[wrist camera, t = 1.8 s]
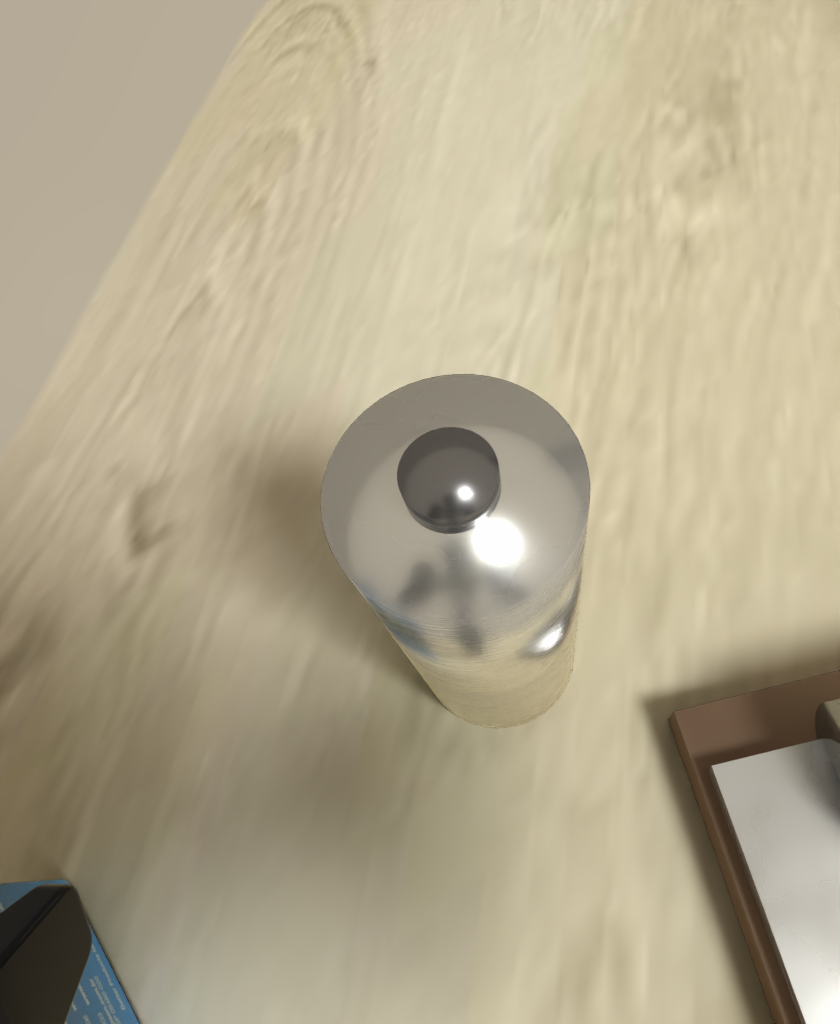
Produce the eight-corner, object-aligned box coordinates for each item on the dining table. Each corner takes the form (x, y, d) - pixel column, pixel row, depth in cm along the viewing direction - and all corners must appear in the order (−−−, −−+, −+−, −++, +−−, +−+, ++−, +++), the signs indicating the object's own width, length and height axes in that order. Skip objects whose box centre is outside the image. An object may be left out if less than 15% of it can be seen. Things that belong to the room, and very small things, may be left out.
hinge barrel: (441, 744, 22) (335, 641, 11) (408, 599, 24) (291, 394, 13) (594, 706, 21) (632, 564, 11) (549, 562, 23) (545, 323, 13)
